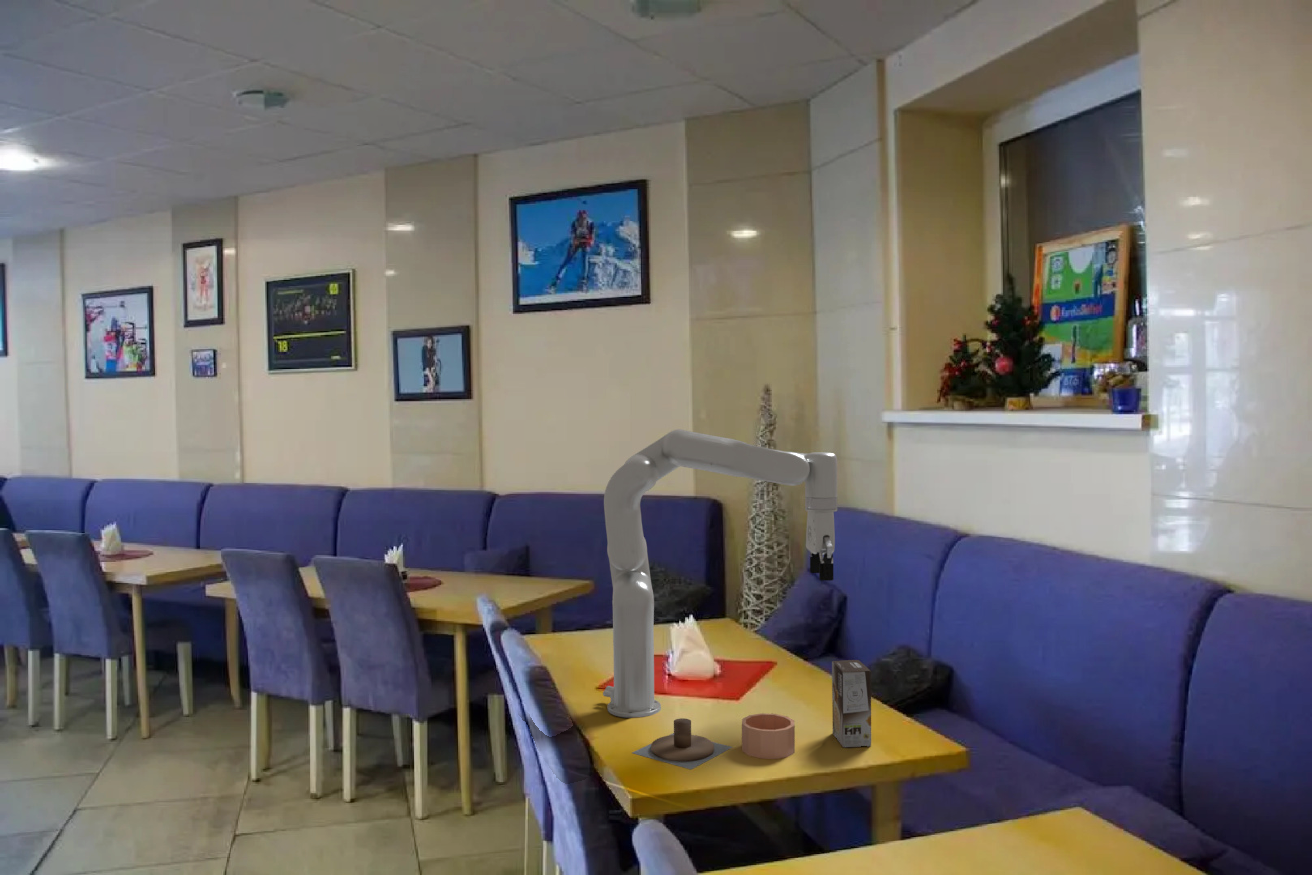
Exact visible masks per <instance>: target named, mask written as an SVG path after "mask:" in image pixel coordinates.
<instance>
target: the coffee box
mask: <svg viewBox="0 0 1312 875" xmlns="http://www.w3.org/2000/svg"><path fill="white" fill-rule="evenodd" d="M831 687H832V688H831V691H832V693H831V694H832V700H831V701H832V734H833V736H834V737H835V739H836V738H837V739H836V740H837V742H839V744H840V745H841V746H842V747H843V748H858V747H859V748H861V746H867V747H871V746H872V671H871V670H870V668H868V667H867V666H866V665H865V664H864V663H863V662H862V661H861V660H859V659H848V660H847V659H845V660H832V661H831Z"/></svg>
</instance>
